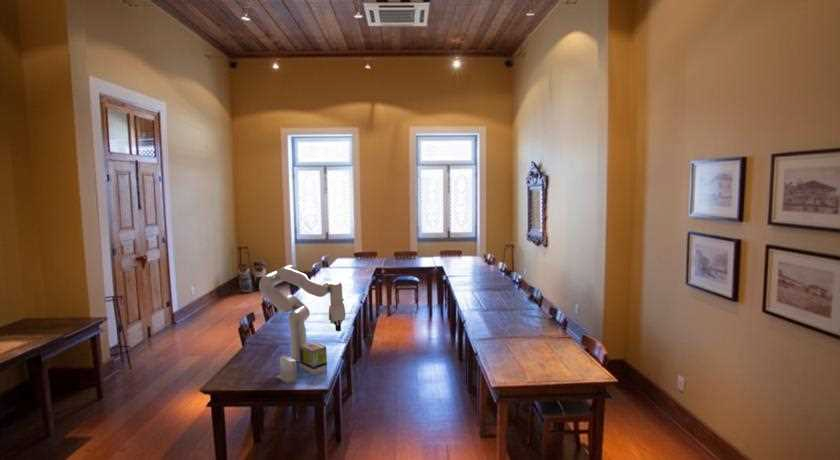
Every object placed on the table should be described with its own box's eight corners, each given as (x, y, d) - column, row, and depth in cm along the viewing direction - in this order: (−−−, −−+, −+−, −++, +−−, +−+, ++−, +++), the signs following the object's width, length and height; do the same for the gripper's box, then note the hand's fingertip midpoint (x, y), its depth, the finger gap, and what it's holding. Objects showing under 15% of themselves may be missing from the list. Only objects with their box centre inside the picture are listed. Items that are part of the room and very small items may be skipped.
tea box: (327, 370, 274) (326, 346, 272) (313, 375, 267) (311, 351, 265) (314, 363, 285) (313, 340, 283) (299, 368, 278) (298, 344, 276)
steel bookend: (276, 378, 264) (275, 358, 262) (285, 375, 268) (284, 355, 267) (287, 384, 256) (286, 363, 255) (297, 380, 260) (296, 360, 259)
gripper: (342, 298, 294) (343, 326, 296) (323, 304, 283) (324, 332, 285) (349, 300, 289) (351, 328, 291) (330, 305, 278) (332, 335, 280)
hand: (338, 330), depth 288 cm, fingers closed
